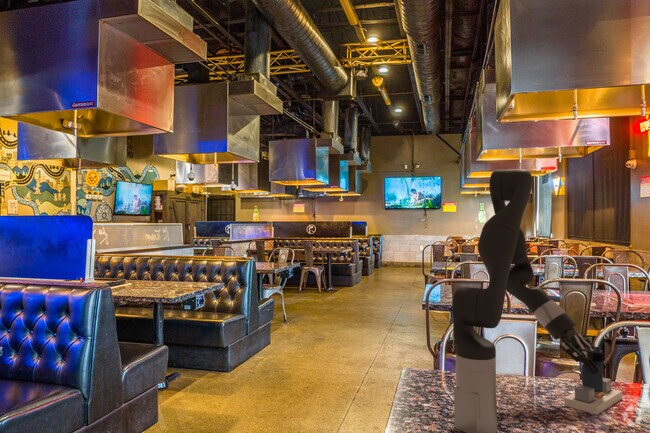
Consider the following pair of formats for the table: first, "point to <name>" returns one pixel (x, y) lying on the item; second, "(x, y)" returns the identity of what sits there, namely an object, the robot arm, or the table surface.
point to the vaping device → (594, 379)
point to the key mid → (598, 394)
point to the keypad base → (594, 402)
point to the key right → (606, 384)
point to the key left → (584, 393)
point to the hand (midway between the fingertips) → (600, 370)
